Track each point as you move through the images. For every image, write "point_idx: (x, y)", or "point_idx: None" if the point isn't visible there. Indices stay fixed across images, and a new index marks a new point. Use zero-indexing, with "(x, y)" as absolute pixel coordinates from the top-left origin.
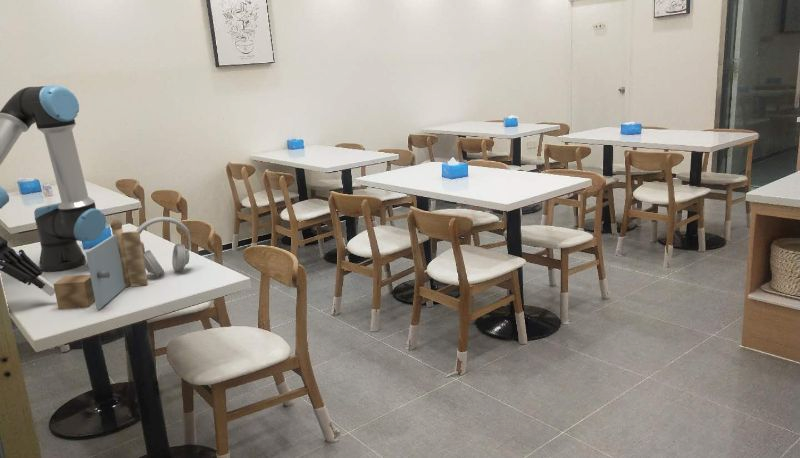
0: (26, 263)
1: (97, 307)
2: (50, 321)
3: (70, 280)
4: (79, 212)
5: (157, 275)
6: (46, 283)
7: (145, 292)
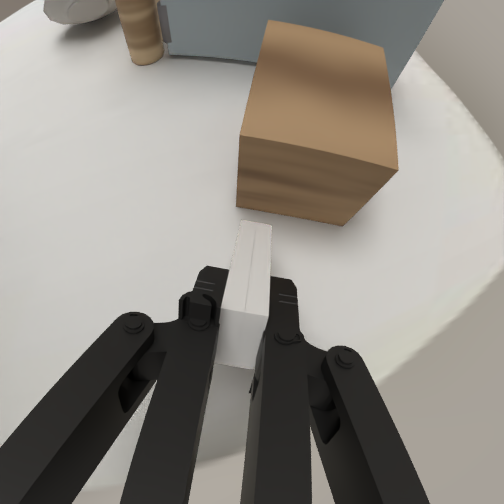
0: (143, 464)
1: (390, 88)
2: (455, 220)
3: (349, 92)
4: None
5: (116, 8)
6: (269, 263)
7: None
